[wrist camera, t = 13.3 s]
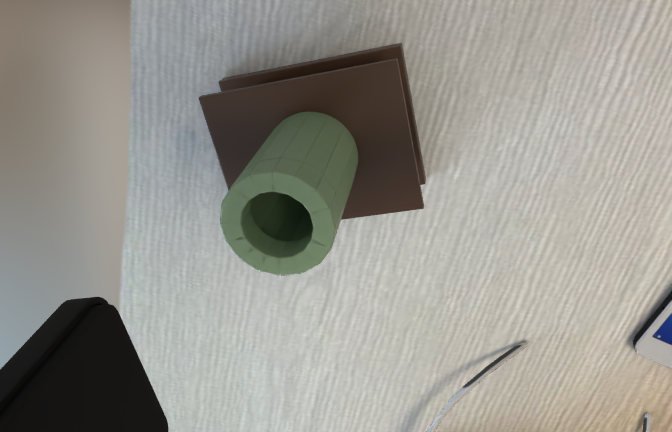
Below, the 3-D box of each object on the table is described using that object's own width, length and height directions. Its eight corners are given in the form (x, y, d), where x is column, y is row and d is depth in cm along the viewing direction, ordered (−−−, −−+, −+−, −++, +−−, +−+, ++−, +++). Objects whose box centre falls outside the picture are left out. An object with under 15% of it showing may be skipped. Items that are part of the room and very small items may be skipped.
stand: (222, 78, 36) (198, 97, 32) (401, 42, 33) (396, 59, 30) (260, 203, 39) (241, 233, 35) (425, 179, 37) (423, 208, 33)
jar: (257, 119, 32) (205, 181, 25) (347, 103, 31) (319, 163, 24) (281, 202, 34) (238, 281, 27) (366, 190, 33) (345, 269, 26)
